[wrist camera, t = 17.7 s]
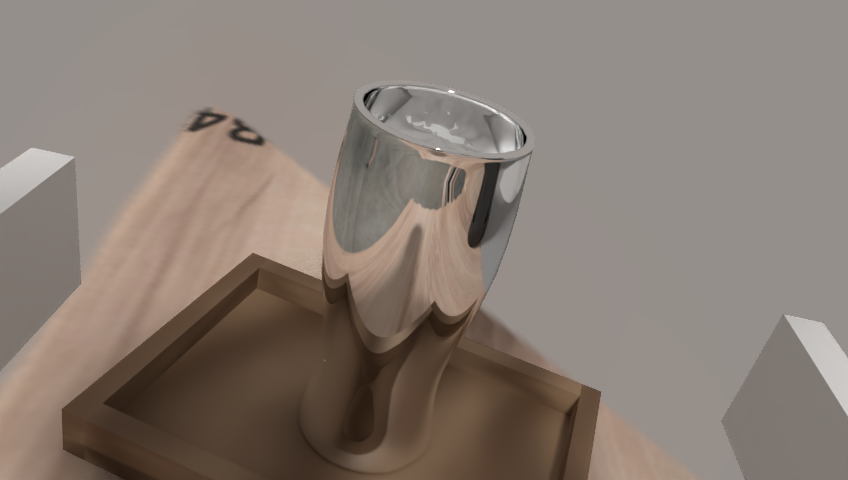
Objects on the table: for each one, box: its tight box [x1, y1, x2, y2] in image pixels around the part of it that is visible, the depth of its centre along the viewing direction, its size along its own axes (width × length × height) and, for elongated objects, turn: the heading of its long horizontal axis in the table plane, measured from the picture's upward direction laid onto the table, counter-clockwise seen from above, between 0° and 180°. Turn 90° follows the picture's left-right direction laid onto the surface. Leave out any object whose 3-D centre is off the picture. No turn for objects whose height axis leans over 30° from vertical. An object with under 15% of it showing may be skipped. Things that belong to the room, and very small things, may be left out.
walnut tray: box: [62, 253, 601, 480], centre depth 32 cm, size 20×14×2 cm
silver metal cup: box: [299, 80, 536, 473], centre depth 28 cm, size 7×7×15 cm
